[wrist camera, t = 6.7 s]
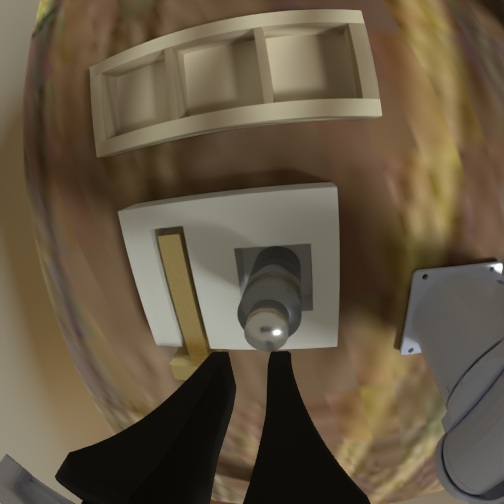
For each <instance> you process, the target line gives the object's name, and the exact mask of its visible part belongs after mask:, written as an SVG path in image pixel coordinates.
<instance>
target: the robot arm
mask: <svg viewBox="0 0 504 504" xmlns="http://www.w3.org/2000/svg"><path fill="white" fill-rule="evenodd" d="M490 268H491V269H490ZM502 268H503V265H502V263H501V262H500V261H496V262H488V263H479V264H470V265H461V266H451V267H441V268H431V269H421V270H416V271H415V272H414V273H413V276H412V283H411V291H410V297H409V304H408V310H407V316H406V321H405V327H404V332H403V336H402V341H401V346H400V353H401V355H409V354H415V353H421V352H422V354H423V356H424V358H425V360H426V362H427V364H428V366H429V369H430V371H431V373H432V375H433V378H434V380H435V382H436V384H437V387H438V389H439V392H440V394H441V396H442V399H443V401H444V404H445V406H446V409H447V413H446V415H445V416H444V417H443V419H442V420H441V421H442V424H443V427H444V430H445V434H444V435H443V436H442V437H441V439H440V440H439V442H438V444H437V447H436V451H435V468H436V472H437V476H438V478H439V480H440V482H441V484H442V486H443V487H444V488H445V490H446V491H447V492H448V493H449V494H450V495H452V496H453V497H455V498H457V499H459V500H462V501H464V502H467V503H469V504H504V276H503V275H502V274H501V273H502ZM424 274H426V277H425V278H422V277H423V275H424ZM410 348H412V349H410ZM409 349H410V350H409ZM235 393H236V383H235V379H234V375H233V371H232V367H231V362H230V358H229V354H228V352H219V351H213V352H212V353H211V354H210V355H209V356H208V357H207V358H206V359H205V360H204V361H203V363H202V364H201V365H200V366H199V367H198V368H197V369H196V370H195V372H194V373H193V374H192V375H191V376H190V377H189V378H188V379H187V380H186V381H185V382H184V383H183V384H182V385H181V386H180V387H179V388H178V389H177V390H176V391H175V392H174V393H173V394H172V395H171V396H170V397H169V398H168V399H167V400H165V401H164V402H163V403H162V404H161V405H160V406H159V407H157V408H156V409H155V410H154V411H152V412H151V413H150V414H148V415H147V416H146V417H144V418H143V419H141V420H140V421H138V422H137V423H135V424H133V425H132V426H130V427H128V428H127V429H125V430H123V431H122V432H120V433H118V434H116V435H114V436H112V437H110V438H108V439H106V440H103V441H101V442H99V443H97V444H94V445H92V446H88V447H85V448H82V449H79V450H76V451H73V452H70V453H69V454H68V455H67V457H66V459H65V460H64V462H63V464H62V465H61V467H60V469H59V470H58V472H57V474H56V475H55V478H56V480H57V481H58V482H59V483H60V484H61V485H63V486H64V487H65V488H66V489H68V490H69V491H70V492H72V493H73V494H75V495H76V496H77V497H79V498H80V499H82V500H83V501H82V503H81V504H210V500H211V494H212V488H213V482H214V476H215V471H216V466H217V461H218V457H219V453H220V450H221V447H222V444H223V441H224V437H225V434H226V431H227V428H228V424H229V421H230V418H231V414H232V411H233V406H234V400H235ZM0 503H1V504H75V503H73V502H72V501H70V500H68V499H66V498H65V497H63V496H61V495H60V494H58V493H57V492H55V491H54V490H52V489H50V488H49V487H48V486H46V485H45V484H43V483H42V482H40V481H39V480H37V479H36V478H35V477H33V476H32V475H31V474H30V473H29V472H28V471H27V470H26V469H24V468H23V467H22V466H21V465H20V464H18V463H17V462H16V461H15V460H14V459H12V458H11V457H10V456H9V455H7V454H6V455H5V456H4V458H3V459H2V461H1V462H0ZM243 504H371V503H370V501H369V499H368V497H367V496H366V494H365V493H364V492H363V491H362V490H361V489H360V488H359V487H358V486H357V485H356V484H355V483H354V482H353V481H352V479H351V478H350V477H349V476H348V475H347V473H346V472H345V471H344V470H343V468H342V467H341V466H340V465H339V463H338V462H337V460H336V459H335V458H334V456H333V455H332V453H331V452H330V450H329V449H328V448H327V446H326V445H325V443H324V441H323V440H322V438H321V436H320V435H319V433H318V431H317V429H316V428H315V426H314V424H313V422H312V420H311V418H310V416H309V414H308V412H307V410H306V407H305V405H304V403H303V400H302V398H301V395H300V393H299V390H298V387H297V384H296V381H295V378H294V374H293V370H292V365H291V353H289V352H288V351H279V352H271V354H270V358H269V363H268V377H267V405H266V416H265V422H264V427H263V432H262V437H261V441H260V445H259V450H258V454H257V458H256V462H255V466H254V469H253V473H252V477H251V480H250V484H249V487H248V490H247V493H246V496H245V499H244V502H243Z"/></svg>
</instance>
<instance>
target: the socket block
mask: <svg viewBox="0 0 504 504" xmlns="http://www.w3.org/2000/svg"><path fill="white" fill-rule="evenodd" d="M118 215H119V220H120V224H121V229H122V233H123V237H124V241H125V245H126V249H127V253H128V257H129V261H130V264H131V268H132V271H133V275H134V278H135V282H136V285H137V289H138V292H139V295H140V298H141V301H142V305H143V308H144V311H145V314H146V317H147V320H148V322H149V325H150V328H151V331H152V334H153V337H154V339H155V342H156V345H161V346H174V347H182V346H183V344H184V342H185V339H184V336H183V333H182V329H181V326H180V322H179V319H178V316H177V312H176V309H175V305H174V301H173V298H172V294H171V290H170V286H169V283H168V279H167V275H166V271H165V267H164V262H163V258H162V254H161V250H160V245H159V241H158V236H159V235H160V234H161V233H163V232H164V231H166V230H167V229H174V228H183V229H184V234H185V239H186V245H187V250H188V254H189V259H190V264H191V269H192V273H193V278H194V282H195V287H196V291H197V296H198V300H199V304H200V308H201V313H202V317H203V321H204V325H205V329H206V333H207V337H208V340H209V344H210V348H211V349H255V348H253V347H252V346H251V345H250V344H248V342H247V341H246V339H245V336H244V330H243V328H242V327H241V325H240V323H239V321H238V316H237V310H238V306H239V304H240V301H241V298H242V295H243V293H244V290H245V287H246V284H247V282H248V279H249V276H250V273H251V271H252V268H253V265H254V262H255V260H256V257H257V256H258V254H259V253H260V252H261V251H263V250H264V249H266V248H268V247H271V246H282V247H286V248H288V249H290V250H291V251H293V252H294V253H295V254H296V255H297V257H298V258H299V261H300V264H301V305H302V318H301V323H300V326H299V328H298V329H297V331H296V332H295V333H294V334H293V335H291V336H290V337H288V339H287V342H286V343H285V345H284V346H283V347H281V348H280V349H302V348H322V347H337V341H338V321H339V290H340V243H339V212H338V192H337V187H336V186H335V185H334V184H333V183H332V182H321V183H306V184H292V185H279V186H268V187H257V188H247V189H238V190H229V191H220V192H212V193H204V194H197V195H189V196H182V197H175V198H168V199H162V200H156V201H149V202H143V203H137V204H134V205H132V206H129V207H127V208H125V209H123V210H120V211H118Z"/></svg>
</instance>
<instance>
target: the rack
mask: <svg viewBox="0 0 504 504" xmlns="http://www.w3.org/2000/svg"><path fill="white" fill-rule="evenodd" d="M90 91H91V108H92V120H93V130H94V139H95V147H96V155H97V158H98V157H105V156H113V155H119V154H122V153H126V152H129V151H133V150H136V149H140V148H144V147H148V146H152V145H156V144H160V143H165V142H169V141H173V140H178V139H183V138H188V137H193V136H198V135H203V134H209V133H214V132H220V131H226V130H233V129H240V128H247V127H255V126H263V125H272V124H282V123H294V122H308V121H326V120H372V119H375V118H378V117H380V116H382V111H381V103H380V96H379V90H378V84H377V78H376V72H375V67H374V62H373V57H372V53H371V48H370V44H369V39H368V35H367V31H366V27H365V24H364V20H363V16H362V13H361V11H358V10H331V9H321V10H294V11H281V12H271V13H263V14H255V15H248V16H242V17H236V18H231V19H226V20H221V21H216V22H212V23H208V24H204V25H200V26H196V27H192V28H188V29H185V30H181V31H178V32H175V33H172V34H168V35H165V36H162V37H159V38H156V39H154V40H151V41H148V42H145V43H143V44H140V45H138V46H135V47H133V48H130V49H128V50H125V51H123V52H121V53H118V54H116V55H114V56H112V57H110V58H107V59H105V60H103V61H101V62H99V63H97V64H95V65H93V66H91V67H90Z"/></svg>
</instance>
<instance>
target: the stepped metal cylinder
mask: <svg viewBox="0 0 504 504" xmlns="http://www.w3.org/2000/svg"><path fill="white" fill-rule="evenodd" d="M237 316H238V321H239V323H240V325H241V327H242V328H243V330H244V336H245V339H246V341H247V342H248V344H250V345H251V346H252V347H253V348H255V349H257V350H261V351H275V350H277V349H280V348H281V347H283V346H284V345H285V343H286V342H287V339H288V337H290V336H291V335H293V334H294V333H295V332H296V331H297V329H298V328H299V326H300V323H301V318H302V305H301V264H300V261H299V258H298V257H297V255H296V254H295V253H294V252H293V251H291V250H290V249H288V248H286V247H282V246H271V247H268V248H266V249H264V250H263V251H261V252H260V253H259V254H258V256H257V257H256V260H255V262H254V265H253V268H252V271H251V273H250V276H249V279H248V282H247V284H246V287H245V290H244V293H243V295H242V298H241V301H240V304H239V306H238V310H237Z"/></svg>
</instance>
